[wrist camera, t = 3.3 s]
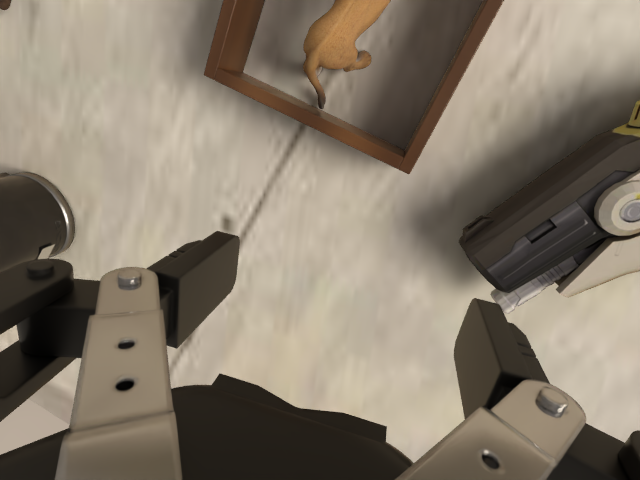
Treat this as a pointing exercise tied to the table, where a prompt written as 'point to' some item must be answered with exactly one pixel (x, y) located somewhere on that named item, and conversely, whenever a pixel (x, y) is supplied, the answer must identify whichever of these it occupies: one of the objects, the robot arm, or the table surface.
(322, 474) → the robot arm
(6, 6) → the brown humanoid figurine
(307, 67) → the lion figurine
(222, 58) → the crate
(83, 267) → the table surface
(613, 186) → the toy blaster
